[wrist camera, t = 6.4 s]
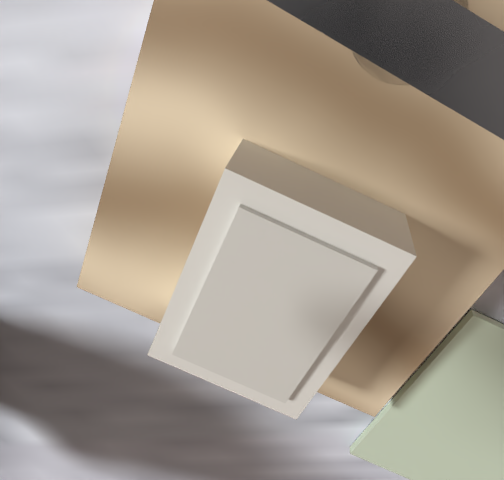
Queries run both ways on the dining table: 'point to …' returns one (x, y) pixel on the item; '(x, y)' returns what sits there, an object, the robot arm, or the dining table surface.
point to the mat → (446, 411)
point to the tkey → (421, 48)
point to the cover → (280, 280)
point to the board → (307, 155)
